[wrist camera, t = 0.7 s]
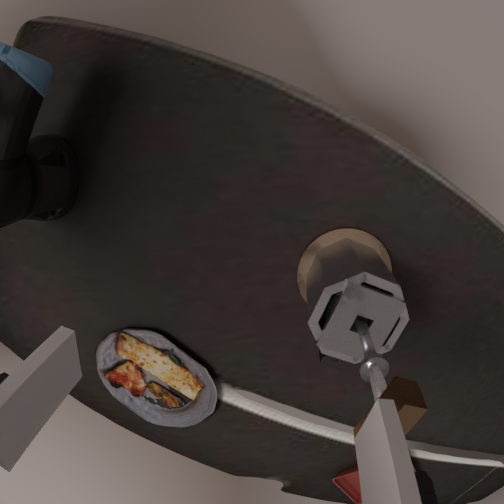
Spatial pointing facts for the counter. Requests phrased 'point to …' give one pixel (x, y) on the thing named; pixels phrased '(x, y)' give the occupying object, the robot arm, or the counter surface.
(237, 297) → the counter surface
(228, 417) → the counter surface
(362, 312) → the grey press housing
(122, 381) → the food plate
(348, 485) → the plant saucer
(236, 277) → the counter surface
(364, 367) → the plunger
